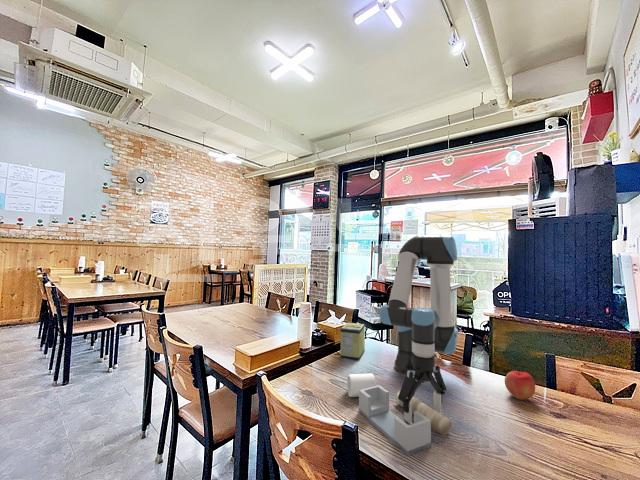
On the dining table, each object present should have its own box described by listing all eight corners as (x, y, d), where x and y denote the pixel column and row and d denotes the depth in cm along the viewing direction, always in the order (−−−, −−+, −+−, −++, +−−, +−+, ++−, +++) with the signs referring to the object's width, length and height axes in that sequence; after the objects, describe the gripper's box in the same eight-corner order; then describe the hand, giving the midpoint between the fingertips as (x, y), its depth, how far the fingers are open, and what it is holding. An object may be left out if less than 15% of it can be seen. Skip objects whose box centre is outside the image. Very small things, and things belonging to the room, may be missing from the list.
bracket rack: (379, 405, 104) (379, 385, 104) (430, 446, 82) (430, 420, 83) (358, 411, 100) (359, 390, 100) (407, 456, 78) (407, 428, 79)
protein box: (364, 351, 161) (364, 323, 162) (359, 361, 146) (359, 330, 147) (346, 348, 165) (347, 321, 165) (340, 358, 150) (340, 328, 151)
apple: (531, 395, 113) (531, 369, 113) (538, 407, 104) (537, 379, 105) (503, 390, 117) (502, 365, 117) (507, 401, 108) (506, 374, 109)
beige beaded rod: (398, 406, 105) (394, 395, 105) (407, 398, 107) (403, 387, 107) (442, 438, 87) (438, 425, 87) (453, 428, 89) (448, 415, 89)
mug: (376, 400, 108) (376, 378, 109) (351, 401, 107) (351, 379, 107) (367, 385, 120) (367, 366, 120) (344, 386, 119) (344, 367, 119)
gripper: (439, 345, 107) (439, 403, 106) (387, 355, 96) (387, 419, 95) (457, 352, 100) (457, 413, 99) (403, 363, 89) (403, 432, 88)
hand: (423, 416), depth 97 cm, fingers open, 13 cm apart
